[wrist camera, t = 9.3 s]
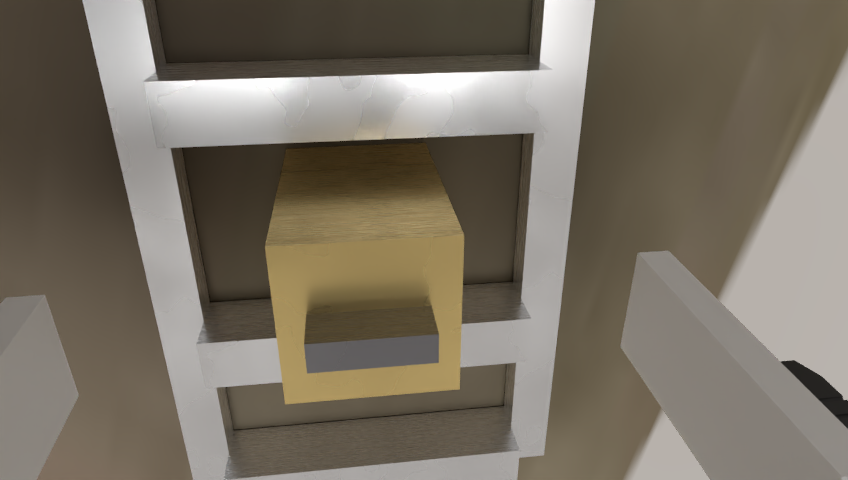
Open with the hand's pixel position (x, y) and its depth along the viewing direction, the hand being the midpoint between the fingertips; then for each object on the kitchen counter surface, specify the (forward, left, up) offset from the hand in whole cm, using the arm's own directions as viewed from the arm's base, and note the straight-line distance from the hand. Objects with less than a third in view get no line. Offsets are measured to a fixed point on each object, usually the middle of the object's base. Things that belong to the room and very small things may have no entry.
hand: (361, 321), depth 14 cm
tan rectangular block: (0, 0, -8) cm, 8 cm away
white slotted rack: (+1, 0, -8) cm, 8 cm away
